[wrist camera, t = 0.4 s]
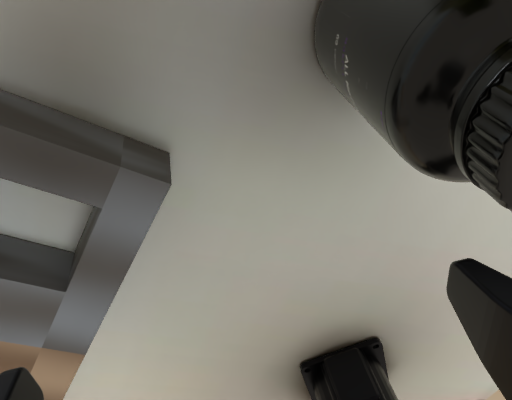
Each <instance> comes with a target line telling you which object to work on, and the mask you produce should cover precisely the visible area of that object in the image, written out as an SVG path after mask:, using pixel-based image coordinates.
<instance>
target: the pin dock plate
mask: <svg viewBox="0 0 512 400" xmlns="http://www.w3.org/2000/svg"><path fill="white" fill-rule="evenodd" d="M0 178H2V179H6V180H9V181H12V182H16V183H19V184H22V185H26V186H29V187H32V188H36V189H39V190H42V191H46V192H49V193H52V194H55V195H59V196H62V197H65V198H69V199H72V200H75V201H79V202H82V203H85V204H89V205H92V206H94V208H93V210H92V213H91V215H90V217H89V220H88V222H87V224H86V227H85V229H84V231H83V234H82V236H81V239H80V241H79V243H78V246H77V248H76V250H75V253H72V252H68V251H64V250H60V249H56V248H53V247H49V246H45V245H41V244H37V243H33V242H29V241H25V240H21V239H17V238H13V237H9V236H5V235H1V234H0V374H1V373H2V372H4V371H6V370H10V369H15V368H19V367H24V368H26V369H27V370H28V371H29V372H30V374H31V375H32V376H33V378H34V379H35V381H36V382H37V383H38V385H39V386H40V387H41V389H42V391H43V395H44V400H63V398H64V396H65V394H66V392H67V390H68V388H69V386H70V384H71V382H72V380H73V378H74V376H75V374H76V372H77V370H78V368H79V366H80V364H81V362H82V360H83V358H84V356H85V355H86V353H87V351H88V349H89V347H90V345H91V343H92V341H93V339H94V337H95V335H96V333H97V331H98V329H99V327H100V325H101V323H102V321H103V319H104V317H105V315H106V313H107V311H108V309H109V307H110V305H111V303H112V301H113V299H114V297H115V295H116V293H117V291H118V289H119V287H120V285H121V283H122V281H123V279H124V277H125V275H126V273H127V271H128V269H129V267H130V265H131V264H132V262H133V260H134V258H135V256H136V254H137V252H138V250H139V248H140V246H141V244H142V242H143V240H144V238H145V236H146V234H147V232H148V230H149V228H150V226H151V224H152V222H153V220H154V218H155V216H156V214H157V212H158V210H159V208H160V206H161V204H162V202H163V200H164V198H165V196H166V194H167V192H168V190H169V188H170V186H171V171H170V156H169V153H168V152H165V151H163V150H160V149H157V148H155V147H152V146H149V145H147V144H144V143H141V142H139V141H136V140H133V139H131V138H128V137H125V136H123V135H120V134H117V133H115V132H112V131H109V130H107V129H104V128H102V127H99V126H96V125H94V124H91V123H88V122H86V121H83V120H80V119H78V118H75V117H72V116H70V115H67V114H64V113H62V112H59V111H56V110H54V109H51V108H48V107H46V106H43V105H40V104H38V103H35V102H32V101H30V100H27V99H24V98H22V97H19V96H16V95H14V94H11V93H8V92H6V91H3V90H0Z"/></svg>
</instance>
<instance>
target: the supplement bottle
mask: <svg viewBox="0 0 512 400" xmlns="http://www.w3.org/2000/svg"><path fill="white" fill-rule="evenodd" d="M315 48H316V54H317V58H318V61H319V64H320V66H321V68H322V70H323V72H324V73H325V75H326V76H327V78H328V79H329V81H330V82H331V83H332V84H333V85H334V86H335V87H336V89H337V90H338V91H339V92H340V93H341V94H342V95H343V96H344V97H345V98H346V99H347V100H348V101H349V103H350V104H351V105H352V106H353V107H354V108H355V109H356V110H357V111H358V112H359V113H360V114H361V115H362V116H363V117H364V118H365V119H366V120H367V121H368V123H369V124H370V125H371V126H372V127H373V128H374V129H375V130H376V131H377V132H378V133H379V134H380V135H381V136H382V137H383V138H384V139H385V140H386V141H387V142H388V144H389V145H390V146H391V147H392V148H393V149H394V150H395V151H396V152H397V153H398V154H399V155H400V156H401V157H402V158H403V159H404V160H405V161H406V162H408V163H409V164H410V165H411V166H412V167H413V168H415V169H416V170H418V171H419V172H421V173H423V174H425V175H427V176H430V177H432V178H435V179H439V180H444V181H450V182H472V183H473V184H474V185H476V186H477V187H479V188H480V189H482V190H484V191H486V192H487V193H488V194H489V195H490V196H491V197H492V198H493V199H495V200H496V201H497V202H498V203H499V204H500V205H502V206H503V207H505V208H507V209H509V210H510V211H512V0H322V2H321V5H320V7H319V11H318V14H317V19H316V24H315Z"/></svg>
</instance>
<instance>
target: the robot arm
mask: <svg viewBox="0 0 512 400" xmlns="http://www.w3.org/2000/svg"><path fill="white" fill-rule="evenodd" d="M447 295H448V298H449V300H450V302H451V304H452V306H453V308H454V310H455V312H456V314H457V316H458V318H459V320H460V322H461V324H462V325H463V327H464V329H465V331H466V333H467V335H468V337H469V339H470V341H471V343H472V345H473V347H474V349H475V351H476V353H477V354H478V356H479V358H480V360H481V362H482V363H483V365H484V367H485V368H486V370H487V371H488V373H489V374H490V376H491V378H492V379H493V381H494V382H495V384H496V385H497V387H498V388H499V390H500V391H501V393H502V394H503V396H504V397H505V399H506V400H512V278H510V277H508V276H506V275H504V274H502V273H500V272H498V271H496V270H494V269H492V268H490V267H488V266H486V265H484V264H482V263H480V262H478V261H476V260H474V259H471V258H467V259H462V260H458V261H454V262H452V264H451V265H450V269H449V275H448V282H447ZM300 370H301V373H302V375H303V378H304V381H305V383H306V386H307V388H308V391H309V394H310V396H311V399H312V400H398V399H397V397H396V395H395V393H394V391H393V389H392V387H391V384H390V382H389V380H388V374H387V369H386V363H385V357H384V352H383V346H382V343H381V341H380V339H378V338H373V339H370V340H368V341H365V342H362V343H359V344H356V345H353V346H350V347H347V348H345V349H342V350H339V351H336V352H333V353H330V354H327V355H324V356H322V357H319V358H316V359H313V360H310V361H307V362H305V363H302V364H301V366H300ZM0 400H44V395H43V391H42V389H41V387H40V386H39V385H38V383H37V382H36V381H35V379H34V378H33V376H32V375H31V374H30V372H29V371H28V370H27V369H26V368H24V367H19V368H15V369H10V370H6V371H4V372H2V373H1V374H0Z"/></svg>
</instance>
